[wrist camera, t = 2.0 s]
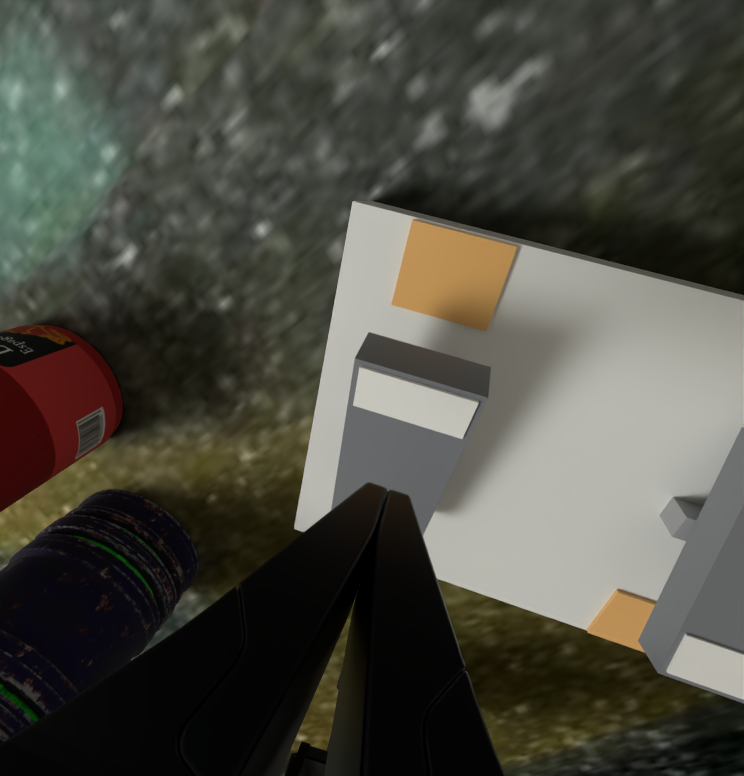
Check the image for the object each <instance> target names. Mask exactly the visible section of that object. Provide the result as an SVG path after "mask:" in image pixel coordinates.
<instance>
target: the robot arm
mask: <svg viewBox="0 0 744 776" xmlns="http://www.w3.org/2000/svg"><path fill="white" fill-rule="evenodd" d="M386 494H387V495H386ZM384 501H385V502H384ZM365 564H366V565H365ZM362 574H363V575H362ZM361 577H362V578H361ZM359 584H360V585H359ZM358 587H359V588H358ZM357 591H358V592H357ZM356 594H357V595H356ZM355 597H356V599H355ZM354 600H355V603H354ZM353 603H354V607H353V612H352V617H351V622H350V628H349V634H348V640H347V645H346V651H345V657H344V663H343V668H342V671H341V674H340V677H339V680H338V684H337V689H338V690H339V692H338V697H337V703H336V709H335V715H334V720H333V726H332V732H331V736H330V740H329V744H328V748H327V751H325V750H322V749H319V748H315V747H312V746H310V744H309V743H306V742H303V741H302V742H301V745H300V747H299V750H298V752H297V753H293V754H291V757H290V760H289V763H288V766H287V770H286V773H285V776H505V774H504V771H503V769H502V767H501V764H500V762H499V759H498V757H497V754H496V752H495V749H494V747H493V744H492V741H491V739H490V736H489V733H488V730H487V727H486V724H485V722H484V719H483V716H482V713H481V710H480V708H479V705H478V702H477V699H476V696H475V693H474V690H473V687H472V684H471V681H470V677H469V674H468V673H467V672H466V671H464V670H465V668H466V666H465V663H464V660H463V657H462V654H461V651H460V648H459V645H458V642H457V639H456V635H455V632H454V629H453V626H452V623H451V620H450V617H449V614H448V611H447V608H446V605H445V602H444V599H443V596H442V593H441V590H440V587H439V584H438V581H437V578H436V574H435V571H434V568H433V565H432V562H431V559H430V556H429V553H428V550H427V547H426V544H425V541H424V538H423V535H422V532H421V529H420V526H419V523H418V520H417V517H416V513H415V510H414V507H413V504H412V501H411V498H410V496H409V495H408V494H405V493H402V492H399V491H396V490H393V489H390V490H388V492H387V488H386V487H384V486H381V485H378V484H375V483H372V482H367V483H365V484H364V485H362V486H361V487H360V488H359V489H357V490H356V491H355V492H354V493H352V494H351V495H350V496H349V497H347V498H346V499H345V500H344V501H342V502H341V503H340V504H339V505H337V506H336V507H335V508H334V509H332V510H331V511H330V512H328V513H327V514H326V515H325V516H323V517H322V518H321V519H320V520H318V521H317V522H316V523H315V524H313V525H312V526H311V527H310V528H308V529H307V530H306V531H305V532H303V533H302V534H301V535H300V536H298V537H297V538H296V539H294V540H293V541H292V542H291V543H289V544H288V545H287V546H286V547H284V548H283V549H282V550H281V551H279V552H278V553H277V554H276V555H274V556H273V557H272V558H271V559H269V560H268V561H267V562H266V563H264V564H263V565H262V566H260V567H259V568H258V569H257V570H255V571H254V572H253V573H252V574H250V575H249V576H248V577H247V578H245V579H244V580H243V581H242V582H240V583H239V585H238V587H234V588H232V589H231V590H230V591H229V592H227V593H226V594H225V595H224V596H222V597H221V598H220V599H219V600H217V601H216V602H215V603H214V604H212V605H211V606H210V607H208V608H207V609H206V610H204V611H203V612H202V613H200V614H199V615H197V616H196V617H195V618H193V619H192V620H191V621H189V622H188V623H187V624H185V625H184V626H183V627H181V628H180V629H178V630H177V631H175V632H174V633H172V634H171V635H169V636H168V637H166V638H165V639H163V640H162V641H161V642H159V643H158V644H156V645H155V646H153V647H152V648H150V649H149V650H147V651H146V652H144V653H143V654H141V655H139V656H138V657H136V658H135V659H133V660H132V661H130V662H129V663H127V664H125V665H124V666H122V667H121V668H119V669H118V670H116V671H114V672H113V673H111V674H110V675H108V676H107V677H105V678H104V679H102V680H100V681H99V682H97V683H96V684H94V685H93V686H91V687H89V688H88V689H86V690H85V691H83V692H82V693H80V694H78V695H77V696H75V697H74V698H72V699H71V700H69V701H68V702H66V703H64V704H63V705H61V706H60V707H58V708H57V709H55V710H53V711H52V712H50V713H49V714H47V715H46V716H44V717H42V718H41V719H39V720H38V721H36V722H35V723H33V724H32V725H30V726H28V727H27V728H25V729H24V730H22V731H20V732H19V733H17V734H15V735H14V736H12V737H11V738H9V739H7V740H6V741H4V742H2V743H0V776H279V774H280V772H281V770H282V768H283V765H284V763H285V761H286V758H287V756H288V754H289V751H290V749H291V747H292V745H293V742H294V740H295V738H296V735H297V733H298V731H299V728H300V726H301V724H302V722H303V719H304V717H305V715H306V712H307V710H308V708H309V705H310V703H311V701H312V699H313V696H314V694H315V692H316V689H317V687H318V685H319V682H320V680H321V678H322V675H323V673H324V671H325V669H326V666H327V664H328V662H329V659H330V657H331V655H332V652H333V650H334V648H335V646H336V643H337V641H338V639H339V636H340V634H341V632H342V629H343V627H344V625H345V623H346V620H347V618H348V616H349V613H350V611H351V608H352V606H353Z"/></svg>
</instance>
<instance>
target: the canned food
mask: <svg viewBox="0 0 744 776" xmlns="http://www.w3.org/2000/svg"><path fill="white" fill-rule="evenodd" d="M122 412H123V403H122V396H121V392H120V388H119V386H118V383H117V381H116V378H115V376H114V374H113V372H112V371H111V369H110V367H109V365H108V364H107V363H106V362H105V360H104V359H103V358H102V356H101V355H100V354H99V353H98V352H97V351H96V350H95V349H94V348H93V347H92V346H91V345H90V344H89V343H87V342H86V341H85V340H84V339H82V338H81V337H80V336H78V335H76V334H74V333H72V332H71V331H69V330H66V329H63V328H61V327H58V326H51V325H25V326H20V327H16V328H13V329H9V330H5V331H2V332H0V512H1V511H3V510H4V509H6V508H7V507H9V506H10V505H12V504H13V503H15V502H16V501H18V500H19V499H21V498H22V497H24V496H25V495H27V494H28V493H30V492H31V491H33V490H34V489H36V488H37V487H39V486H40V485H42V484H43V483H45V482H46V481H48V480H49V479H51V478H52V477H54V476H55V475H57V474H58V473H60V472H61V471H63V470H64V469H66V468H67V467H69V466H70V465H72V464H73V463H75V462H76V461H78V460H79V459H81V458H82V457H84V456H85V455H87V454H88V453H90V452H91V451H93V450H94V449H96V448H97V447H99V446H100V445H102V444H103V443H105V442H106V441H107V440H108V438H109V437H110V436H111V435H112V434H113V432H114V431H115V430H116V428H117V427H118V425H119V423H120V421H121V418H122Z"/></svg>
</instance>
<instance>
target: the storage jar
mask: <svg viewBox="0 0 744 776" xmlns="http://www.w3.org/2000/svg"><path fill="white" fill-rule="evenodd" d="M198 569H199V560H198V555H197V551H196V548H195V546H194V544H193V542H192V540H191V538H190V536H189V535H188V534H187V532H186V531H185V529H184V528H183V527H182V526H181V525H180V523H179V522H178V521H177V520H176V519H175V518H174V517H172V516H171V515H170V514H169V513H168V512H167V511H165V510H164V509H163V508H161V507H160V506H158V505H157V504H155V503H153V502H152V501H150V500H148V499H146V498H144V497H142V496H139V495H136V494H133V493H131V492H126V491H121V490H104V491H100V492H97V493H95V494H93V495H91V496H90V497H88V498H87V499H86V500H84V501H83V502H82V503H81V504H80V505H79V507H78V508H76V509H74V510H72V511H71V512H69V513H68V514H66V515H65V516H64V517H61V518H60V519H58V520H56V521H55V522H53V523H52V524H51V525H49V526H48V527H47V528H45V529H44V530H43V531H42V532H40V533H39V534H38V535H37V536H36V538H35V539H34V540H33V541H31V542H30V543H29V544H28V545H26V546H25V547H24V548H22V549H21V550H20V551H19V552H17V553H16V554H15V555H14V556H13V557H12V558H11V559H10V561H9V564H8V565H7V566H6V567H5V568H3V569H2V570H1V571H0V743H2V742H4V741H6V740H7V739H9V738H11V737H12V736H14V735H15V734H17V733H19V732H20V731H22V730H24V729H25V728H27V727H28V726H30V725H32V724H33V723H35V722H36V721H38V720H39V719H41V718H42V717H44V716H46V715H47V714H49V713H50V712H52V711H53V710H55V709H57V708H58V707H60V706H61V705H63V704H64V703H66V702H68V701H69V700H71V699H72V698H74V697H75V696H77V695H78V694H80V693H82V692H83V691H85V690H86V689H88V688H89V687H91V686H93V685H94V684H96V683H97V682H99V681H100V680H102V679H104V678H105V677H107V676H108V675H110V674H111V673H113V672H114V671H116V670H118V669H119V668H121V667H122V666H124V665H125V664H127V663H129V662H130V660H131V659H132V658H133V657H135V656H137V655H139V654H140V653H141V652H142V651H143V650H144V648H145V647H146V645H147V644H148V643H149V642H150V641H151V639H152V637H153V636H154V635H155V633H156V632H157V631H158V630H159V629H160V628H161V627H162V626H163V625H164V623H165V622H166V621H167V619H168V618H169V616H170V615H171V614H172V612H173V610H174V608H175V606H176V604H177V603H178V601H179V600H180V598H181V596H182V595H183V592H184V591H186V590H187V588H188V587H189V586H190V585H191V584H192V582H193V581H194V579H195V578H196V576H197V573H198Z"/></svg>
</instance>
